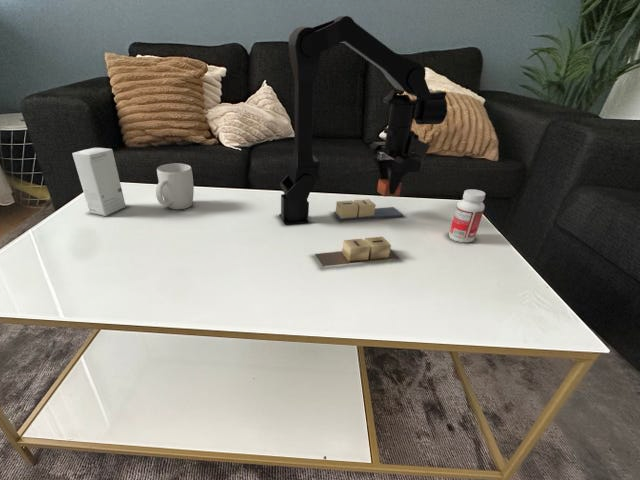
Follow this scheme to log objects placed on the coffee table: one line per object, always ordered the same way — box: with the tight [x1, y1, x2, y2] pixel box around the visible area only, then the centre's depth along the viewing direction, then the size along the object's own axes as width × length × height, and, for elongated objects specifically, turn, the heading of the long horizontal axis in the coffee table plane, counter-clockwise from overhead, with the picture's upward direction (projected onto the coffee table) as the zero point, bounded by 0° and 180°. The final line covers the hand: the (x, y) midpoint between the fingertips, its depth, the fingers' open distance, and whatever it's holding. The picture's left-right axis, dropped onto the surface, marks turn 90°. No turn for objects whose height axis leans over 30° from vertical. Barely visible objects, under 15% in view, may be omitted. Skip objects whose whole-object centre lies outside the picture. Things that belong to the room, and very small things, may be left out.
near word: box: [314, 236, 400, 267], centre depth 90 cm, size 18×6×4 cm, turn 105°
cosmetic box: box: [72, 147, 127, 217], centre depth 106 cm, size 8×6×15 cm
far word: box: [333, 198, 404, 222], centre depth 110 cm, size 18×6×4 cm, turn 105°
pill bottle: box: [448, 188, 486, 243], centre depth 97 cm, size 6×6×11 cm
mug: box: [155, 162, 195, 210], centre depth 110 cm, size 13×9×10 cm
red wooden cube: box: [376, 179, 403, 198], centre depth 108 cm, size 4×4×3 cm
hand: (388, 191), depth 108 cm, fingers closed on red wooden cube, 4 cm apart
